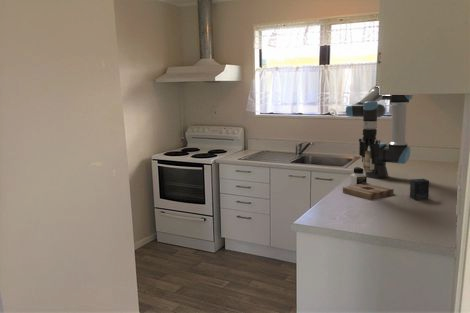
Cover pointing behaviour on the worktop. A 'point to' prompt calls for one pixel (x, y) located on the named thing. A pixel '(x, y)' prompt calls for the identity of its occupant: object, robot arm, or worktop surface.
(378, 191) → the board
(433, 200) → the worktop surface
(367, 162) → the peg
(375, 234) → the worktop surface
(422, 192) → the box
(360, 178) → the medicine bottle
